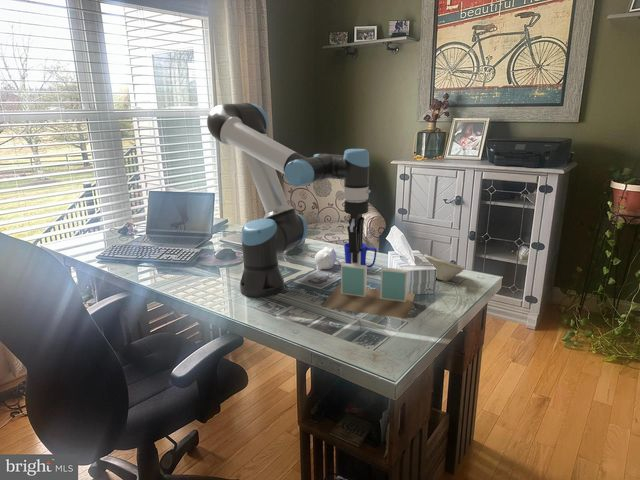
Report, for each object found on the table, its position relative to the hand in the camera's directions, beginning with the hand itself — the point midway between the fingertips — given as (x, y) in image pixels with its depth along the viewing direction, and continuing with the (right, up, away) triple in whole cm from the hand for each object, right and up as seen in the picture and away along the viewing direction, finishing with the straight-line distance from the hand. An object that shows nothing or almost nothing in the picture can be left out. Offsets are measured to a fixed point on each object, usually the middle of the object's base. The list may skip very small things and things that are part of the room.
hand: (355, 270), depth 146 cm
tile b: (+12, -9, -4) cm, 15 cm away
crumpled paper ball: (-8, -1, +27) cm, 28 cm away
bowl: (+32, -4, +14) cm, 35 cm away
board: (+4, -10, -4) cm, 12 cm away
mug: (+4, -2, +23) cm, 23 cm away
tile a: (-1, -8, 0) cm, 8 cm away
